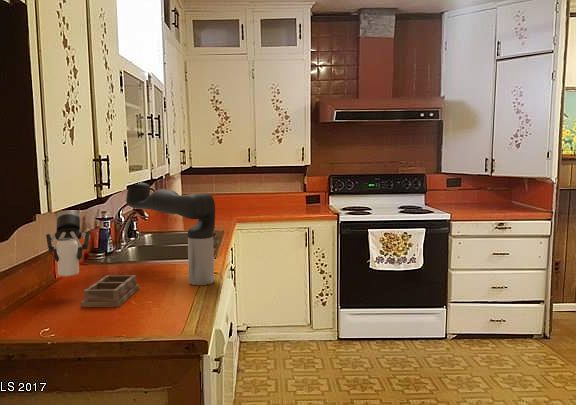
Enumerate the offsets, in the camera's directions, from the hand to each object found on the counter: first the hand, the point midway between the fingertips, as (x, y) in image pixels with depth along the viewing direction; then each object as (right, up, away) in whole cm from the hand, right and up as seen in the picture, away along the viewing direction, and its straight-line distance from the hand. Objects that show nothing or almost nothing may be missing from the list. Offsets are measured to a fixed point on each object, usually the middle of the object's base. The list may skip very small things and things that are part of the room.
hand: (68, 259), depth 160 cm
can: (-1, -5, +2) cm, 6 cm away
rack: (+14, -13, +2) cm, 19 cm away
